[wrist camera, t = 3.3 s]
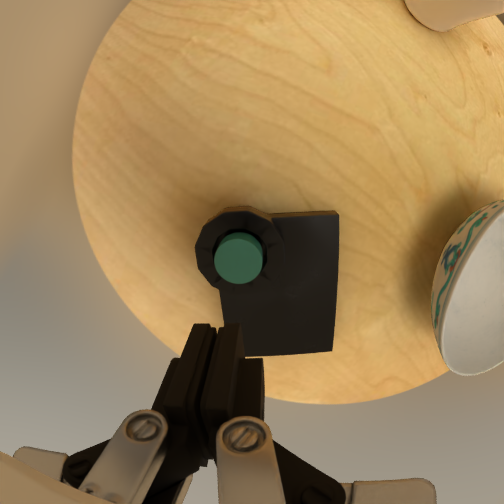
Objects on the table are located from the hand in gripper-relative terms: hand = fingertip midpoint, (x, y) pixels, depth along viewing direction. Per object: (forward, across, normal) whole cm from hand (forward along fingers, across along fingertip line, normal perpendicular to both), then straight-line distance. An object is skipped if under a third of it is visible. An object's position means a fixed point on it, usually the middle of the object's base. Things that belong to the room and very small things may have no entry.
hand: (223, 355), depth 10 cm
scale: (+13, -2, +4) cm, 13 cm away
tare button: (+10, 0, 0) cm, 10 cm away
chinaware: (+13, -20, +2) cm, 24 cm away
